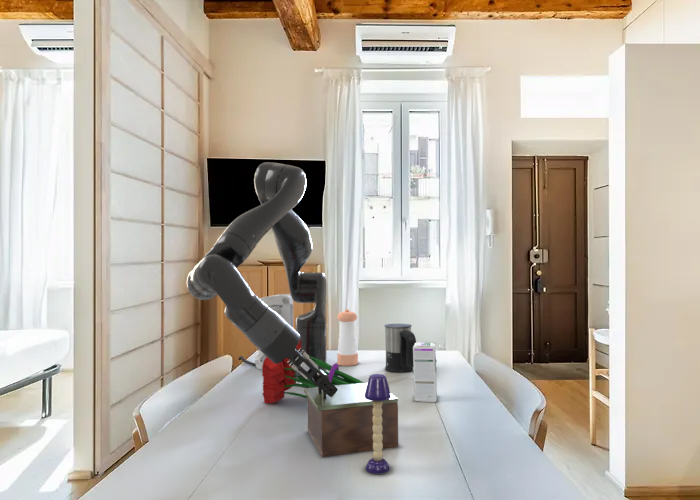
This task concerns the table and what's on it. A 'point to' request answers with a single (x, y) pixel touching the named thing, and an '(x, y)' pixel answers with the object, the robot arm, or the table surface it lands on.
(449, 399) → the table surface
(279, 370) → the bouquet
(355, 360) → the pepper shaker
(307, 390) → the green lid with handle
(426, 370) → the syrup box
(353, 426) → the crate
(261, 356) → the lantern
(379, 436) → the toy lamp
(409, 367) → the milk frother
